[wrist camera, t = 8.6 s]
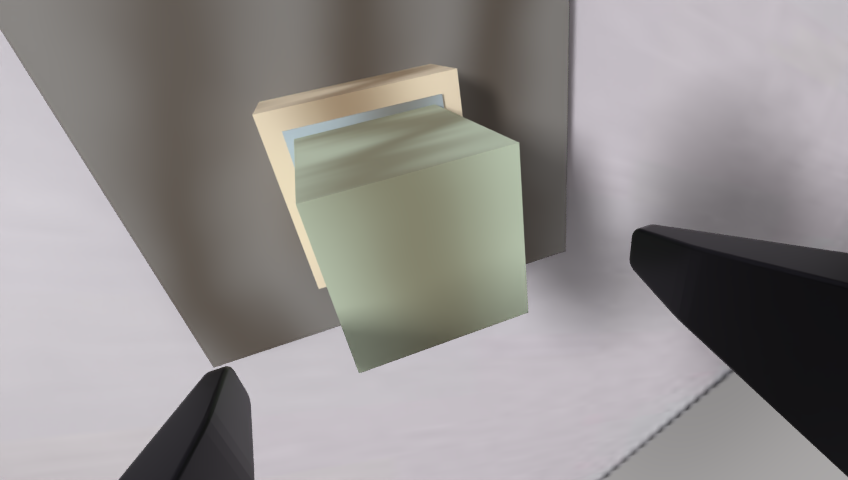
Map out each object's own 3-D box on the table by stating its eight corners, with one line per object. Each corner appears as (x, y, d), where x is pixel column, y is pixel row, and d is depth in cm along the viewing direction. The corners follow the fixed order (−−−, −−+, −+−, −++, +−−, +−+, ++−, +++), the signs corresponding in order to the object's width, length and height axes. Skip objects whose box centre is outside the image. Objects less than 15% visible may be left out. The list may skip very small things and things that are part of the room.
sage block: (435, 104, 14) (518, 142, 9) (453, 226, 16) (528, 312, 11) (293, 139, 13) (295, 204, 8) (336, 262, 15) (359, 373, 10)
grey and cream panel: (555, -90, 16) (630, -126, 12) (555, 243, 24) (600, 278, 20) (0, -2, 12) (-114, -18, 9) (216, 353, 20) (201, 419, 17)
